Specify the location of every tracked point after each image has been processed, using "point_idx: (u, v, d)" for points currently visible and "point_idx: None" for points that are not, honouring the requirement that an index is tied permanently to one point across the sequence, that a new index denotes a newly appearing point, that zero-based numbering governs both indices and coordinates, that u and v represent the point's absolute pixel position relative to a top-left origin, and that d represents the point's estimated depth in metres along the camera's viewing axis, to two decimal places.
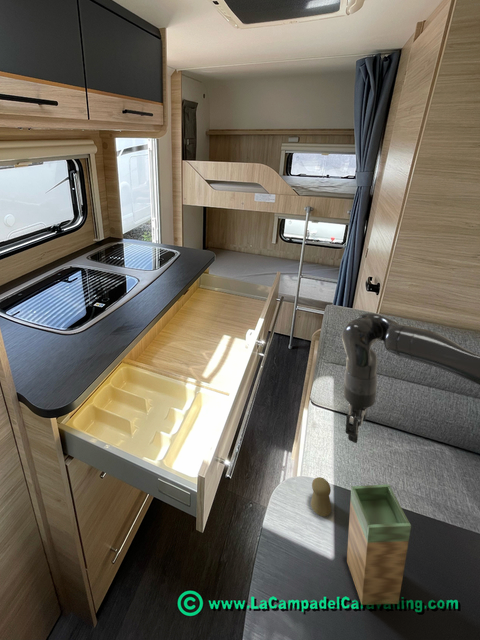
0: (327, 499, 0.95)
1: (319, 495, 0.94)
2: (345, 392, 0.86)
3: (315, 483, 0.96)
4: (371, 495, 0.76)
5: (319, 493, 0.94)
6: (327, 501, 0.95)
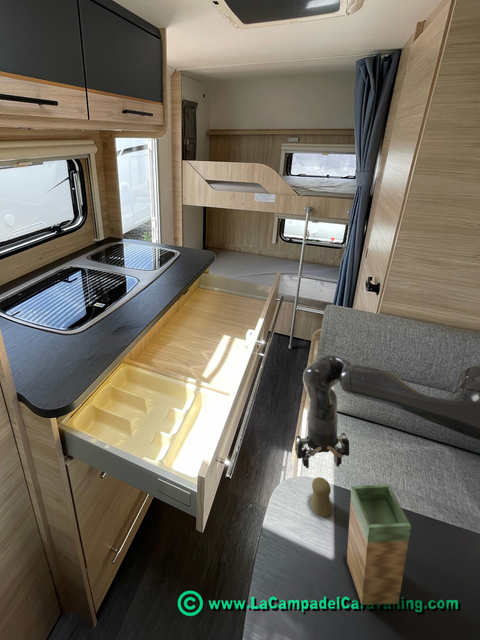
0: (327, 499, 0.95)
1: (319, 495, 0.94)
2: None
3: (315, 483, 0.96)
4: (371, 495, 0.76)
5: (319, 493, 0.94)
6: (327, 501, 0.95)
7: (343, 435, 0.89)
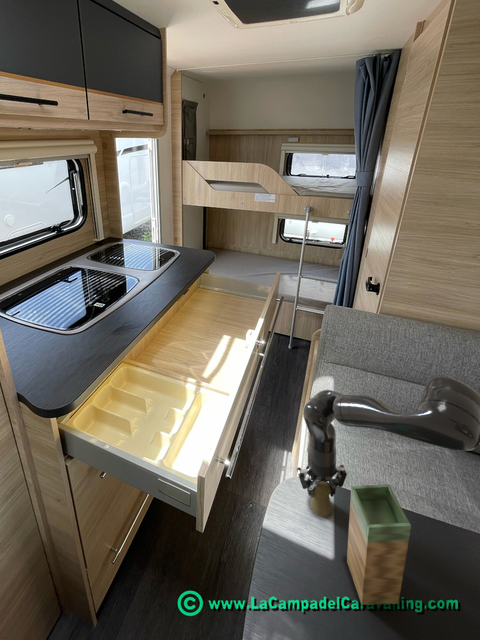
0: (327, 499, 0.95)
1: (319, 495, 0.94)
2: None
3: None
4: (371, 495, 0.76)
5: (319, 493, 0.94)
6: (327, 501, 0.95)
7: (342, 467, 0.93)
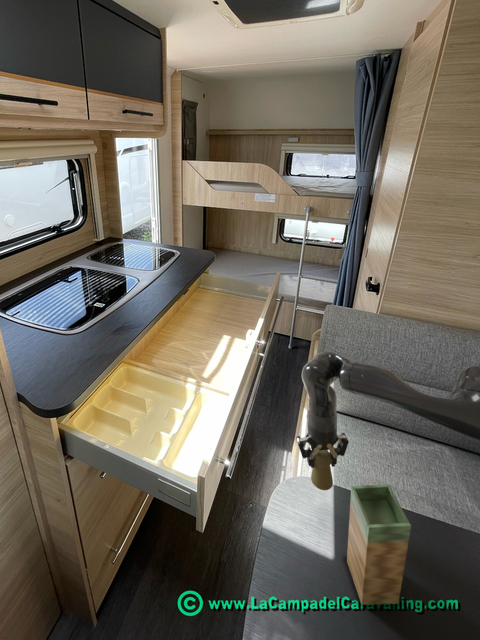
0: (328, 469, 0.91)
1: (319, 465, 0.90)
2: None
3: None
4: (371, 495, 0.76)
5: (320, 462, 0.89)
6: (328, 471, 0.91)
7: (343, 435, 0.89)
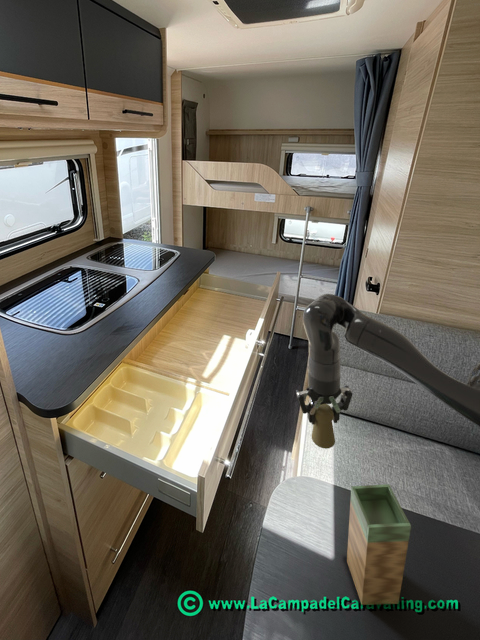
0: (330, 425, 0.84)
1: (321, 420, 0.83)
2: None
3: None
4: (371, 495, 0.76)
5: (321, 417, 0.83)
6: (330, 428, 0.85)
7: (347, 387, 0.83)
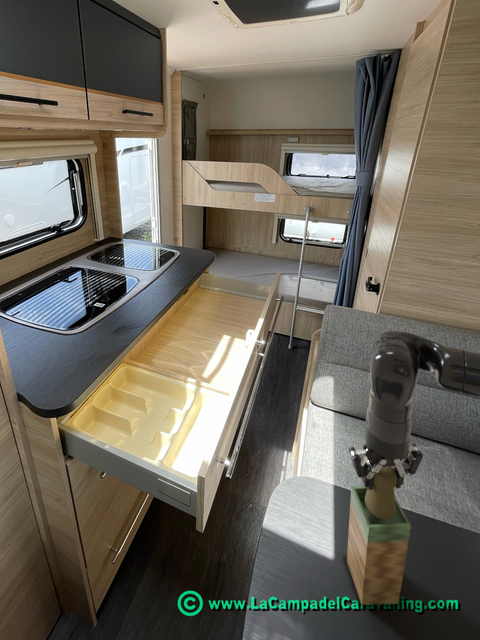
0: (392, 492, 0.68)
1: (382, 486, 0.66)
2: None
3: None
4: None
5: (382, 483, 0.66)
6: (392, 495, 0.68)
7: (414, 446, 0.66)
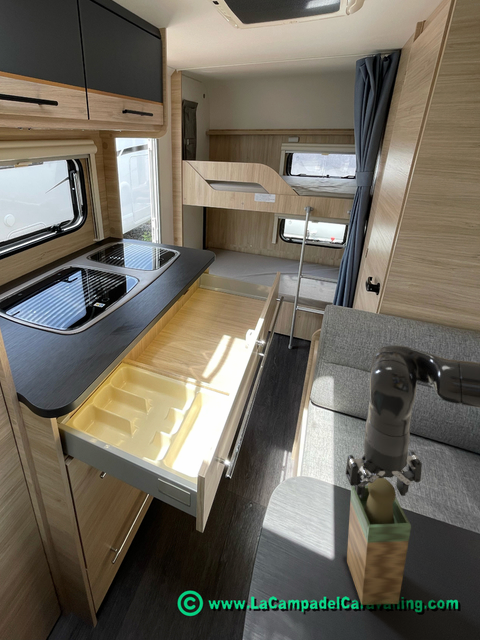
0: (390, 507, 0.69)
1: (380, 501, 0.68)
2: None
3: (373, 485, 0.70)
4: None
5: (381, 499, 0.68)
6: (390, 509, 0.69)
7: (412, 455, 0.67)
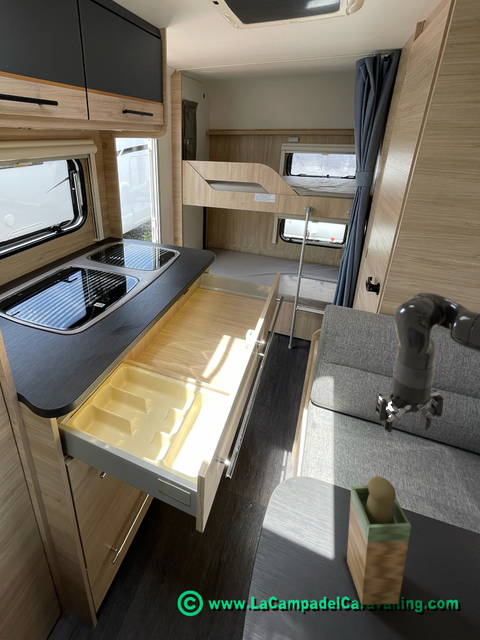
0: (390, 507, 0.69)
1: (380, 501, 0.68)
2: None
3: (373, 485, 0.70)
4: None
5: (381, 499, 0.68)
6: (390, 509, 0.69)
7: (435, 392, 0.76)
